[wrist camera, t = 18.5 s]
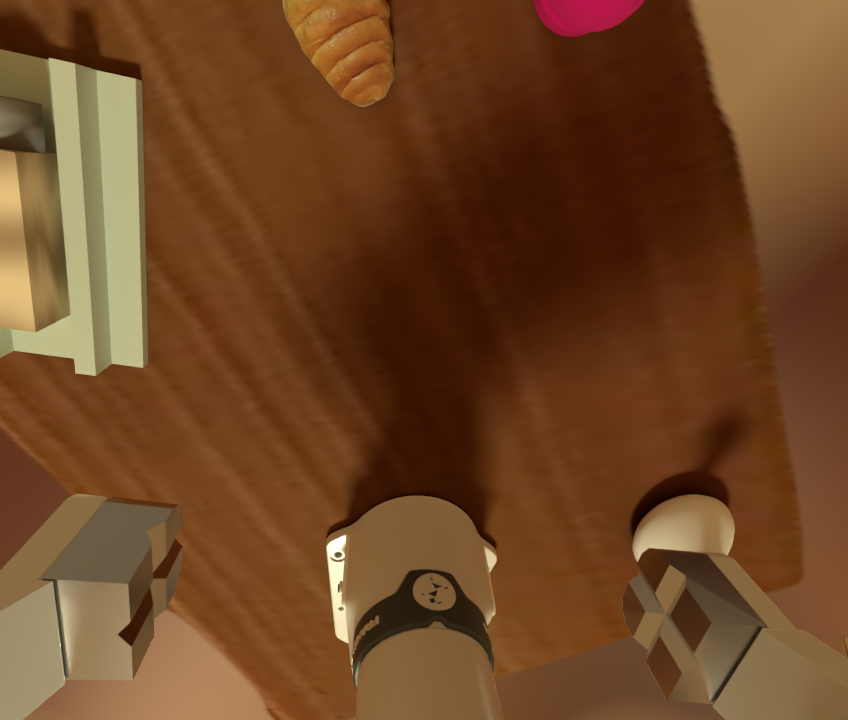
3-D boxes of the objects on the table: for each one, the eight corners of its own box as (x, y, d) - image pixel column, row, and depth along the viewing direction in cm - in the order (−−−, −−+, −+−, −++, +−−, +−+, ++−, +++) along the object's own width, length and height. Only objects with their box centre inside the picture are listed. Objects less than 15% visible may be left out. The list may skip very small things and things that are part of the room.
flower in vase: (721, 550, 57) (952, 814, 34) (628, 573, 57) (796, 851, 34) (723, 462, 52) (997, 703, 29) (621, 487, 52) (813, 748, 29)
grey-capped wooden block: (76, 311, 39) (35, 332, 34) (21, 303, 38) (-28, 323, 33) (60, 107, 33) (9, 99, 29) (-4, 94, 33) (-67, 83, 28)
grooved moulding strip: (148, 363, 42) (129, 380, 39) (-31, 339, 40) (-67, 355, 37) (142, 80, 34) (117, 72, 31) (-83, 31, 32) (-136, 17, 29)
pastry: (415, 84, 36) (419, 77, 32) (334, 123, 36) (329, 120, 33) (360, -64, 32) (357, -91, 29) (270, -18, 33) (257, -39, 29)
